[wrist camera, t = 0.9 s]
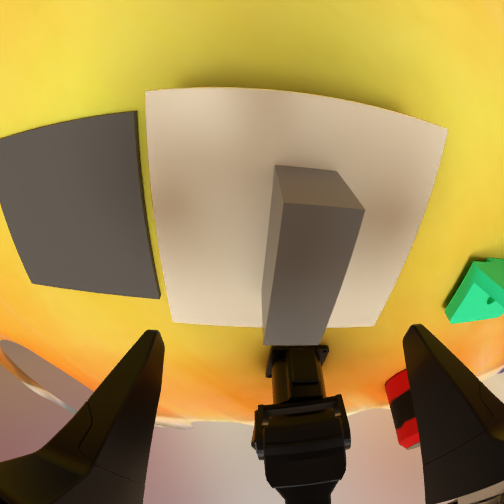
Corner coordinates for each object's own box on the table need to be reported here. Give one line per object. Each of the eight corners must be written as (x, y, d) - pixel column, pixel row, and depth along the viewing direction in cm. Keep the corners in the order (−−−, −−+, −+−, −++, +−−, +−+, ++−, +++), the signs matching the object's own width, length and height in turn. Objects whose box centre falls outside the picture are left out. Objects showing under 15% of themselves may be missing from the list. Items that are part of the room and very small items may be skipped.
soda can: (406, 388, 39) (421, 447, 29) (375, 389, 38) (390, 455, 28) (434, 364, 35) (456, 427, 25) (405, 364, 34) (427, 436, 24)
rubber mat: (160, 295, 24) (159, 299, 24) (34, 280, 24) (32, 283, 24) (136, 110, 15) (133, 111, 15) (-10, 142, 14) (-14, 144, 14)
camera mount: (438, 307, 27) (473, 380, 18) (468, 254, 22) (519, 328, 14) (492, 303, 27) (524, 359, 19) (519, 259, 23) (560, 315, 14)
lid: (370, 316, 20) (387, 369, 16) (175, 311, 20) (161, 369, 16) (438, 124, 12) (497, 155, 8) (152, 89, 11) (103, 102, 7)
